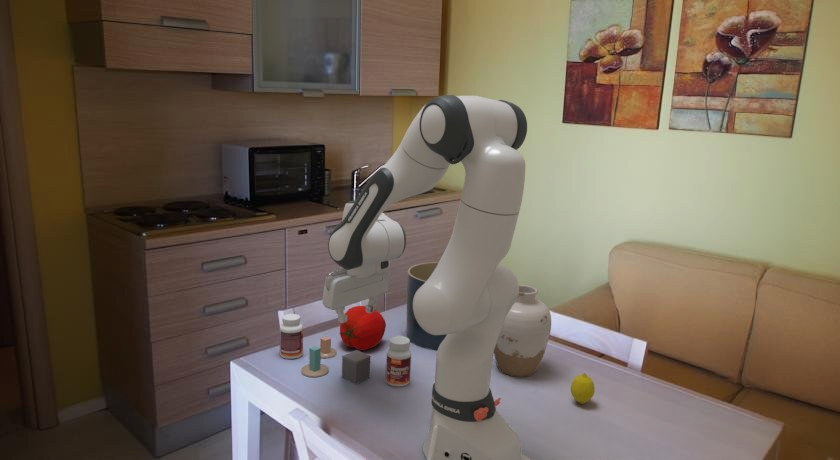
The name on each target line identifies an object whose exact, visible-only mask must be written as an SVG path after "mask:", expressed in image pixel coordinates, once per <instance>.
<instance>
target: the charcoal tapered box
mask: <svg viewBox="0 0 840 460" xmlns="http://www.w3.org/2000/svg"><path fill="white" fill-rule="evenodd" d="M341 363H342V364H341V378H342V379H344V380H346V381H348V382H350V383H353V384H354V385H357V384H360V383H361V382H363V381H365V380H368V379H370V377H371V355H369V354H367V353H365V352H362V351H361V350H358V349H355V350H352V351H350V352H348V353H346V354H344V355H342V359H341Z"/></svg>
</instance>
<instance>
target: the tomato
mask: <svg viewBox="0 0 840 460" xmlns="http://www.w3.org/2000/svg"><path fill="white" fill-rule="evenodd" d="M365 307H366V305H356V306H353V307H351V308H349V309H347V310H346V311H345V313H344V315H347V322H345V323H340V325H339V333H338V334H339V335H340V338H341V341H342V343H343V344H345V345H346V347H351V348H355V350H358V351H365V350H369V349H371V348H374V347H376V346H377V345H378V344H379V343H380V342H381V341H382V340H383V337H384V335H385V331H386V327H387V324H386V320H385V318H384V316H383V315H382V313H380V312H379V311H378V310H376V309H375V308H374V312H372V313H367V312H366V311H365V309H366V308H365Z"/></svg>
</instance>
